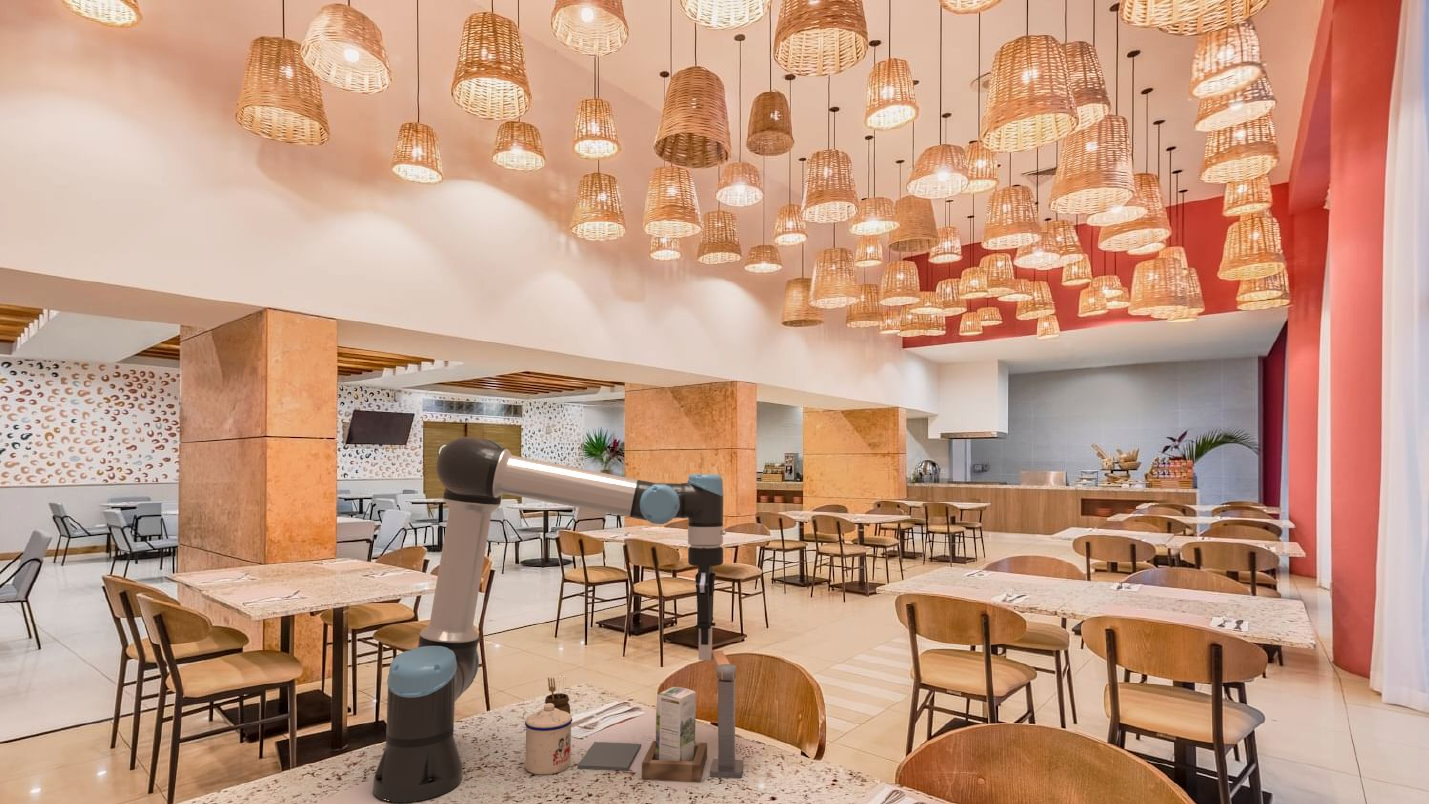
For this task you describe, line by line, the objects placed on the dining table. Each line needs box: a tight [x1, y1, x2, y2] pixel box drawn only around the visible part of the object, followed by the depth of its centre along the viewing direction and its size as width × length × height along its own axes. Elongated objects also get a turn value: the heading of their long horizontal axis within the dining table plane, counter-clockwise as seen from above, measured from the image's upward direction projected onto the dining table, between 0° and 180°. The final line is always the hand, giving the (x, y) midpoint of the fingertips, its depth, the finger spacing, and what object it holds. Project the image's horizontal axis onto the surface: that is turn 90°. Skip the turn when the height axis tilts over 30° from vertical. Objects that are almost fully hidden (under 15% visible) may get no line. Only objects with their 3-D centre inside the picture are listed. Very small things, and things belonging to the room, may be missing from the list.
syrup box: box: [655, 686, 697, 762], centre depth 138 cm, size 6×6×14 cm
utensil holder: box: [544, 675, 571, 715], centre depth 159 cm, size 6×6×12 cm
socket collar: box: [641, 740, 708, 783], centre depth 138 cm, size 11×11×3 cm
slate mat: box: [576, 741, 642, 772], centre depth 143 cm, size 10×12×1 cm
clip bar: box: [711, 649, 737, 680], centre depth 145 cm, size 16×4×2 cm, turn 7°
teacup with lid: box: [524, 703, 573, 775], centre depth 141 cm, size 12×9×12 cm
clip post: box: [709, 678, 744, 779], centre depth 137 cm, size 6×6×17 cm
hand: (705, 659), depth 150 cm, fingers closed
